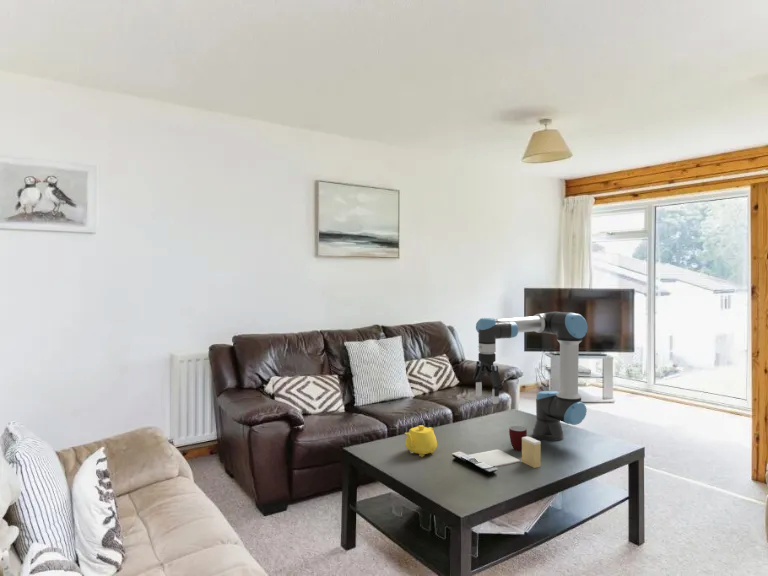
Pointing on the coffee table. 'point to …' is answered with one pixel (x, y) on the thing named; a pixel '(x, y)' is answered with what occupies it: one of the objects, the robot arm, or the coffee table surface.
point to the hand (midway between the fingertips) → (486, 399)
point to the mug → (517, 436)
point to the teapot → (421, 440)
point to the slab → (531, 452)
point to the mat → (495, 458)
